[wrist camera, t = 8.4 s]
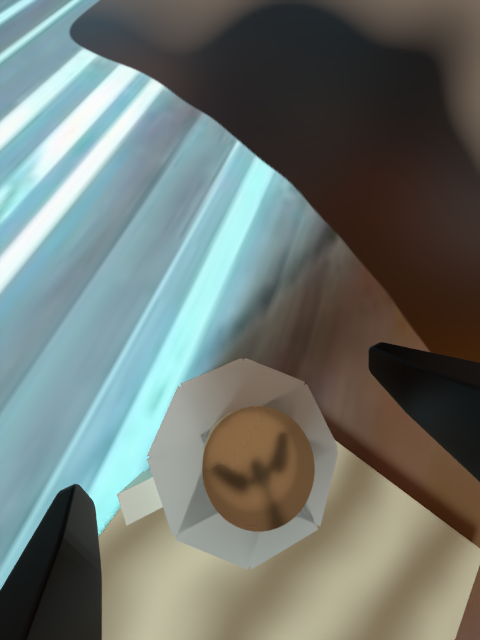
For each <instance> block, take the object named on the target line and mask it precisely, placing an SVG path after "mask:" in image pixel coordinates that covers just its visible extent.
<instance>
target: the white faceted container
mask: <svg viewBox="0 0 480 640" xmlns="http://www.w3.org/2000/svg"><path fill="white" fill-rule="evenodd" d="M304 383H305V382H304V381H301V380H299V379H297V378H294V377H292V376H289V375H287V374H284V373H282V372H279V371H277V370H274V369H272V368H269V367H267V366H264V365H262V364H259V363H257V362H254V361H252V360H249V359H247V358H244V360H243V359H242V358H240V359H238V360H235V361H233V362H231V363H228V364H226V365H224V366H221V367H219V368H217V369H214V370H212V371H209V372H207V373H205V374H202V375H200V376H198V377H195V378H193V379H191V380H188V381H186V382H183V383H181V386H182V387H180V386H178V388H177V390H176V392H175V395H174V397H173V399H172V401H171V403H170V406H169V408H168V410H167V412H166V415H165V417H164V419H163V421H162V424H161V426H160V428H159V430H158V433H157V435H156V437H155V439H154V442H153V444H152V446H151V448H150V451H149V453H148V455H147V456H150V457H149V458H148V459H147V461H148V464H149V467H150V469H148V470H146V471H144V472H142V473H141V474H140V475H139V476H137V477H136V478H135V479H134V480H133V481H132V482H131V483H130V484H128V485H127V486H126V487H125V488H124V489H123V490H122V491H121V492H119V493H118V494H117V496H118V499H119V502H120V506H121V509H122V512H123V516H124V519H125V523H126V526H127V525H129V524H131V523H133V522H135V521H137V520H139V519H141V518H143V517H144V516H146V515H148V514H150V513H152V512H154V511H156V510H158V509H160V508H162V507H163V509H164V512H165V515H166V518H167V521H168V524H169V527H170V530H171V533H172V536H173V537H174V536H176V539H175V540H177V541H179V542H182V543H184V544H187V545H189V546H192V547H194V548H196V549H199V550H201V551H204V552H206V553H209V554H211V555H213V556H216V557H218V558H221V559H223V560H225V561H228V562H230V563H233V564H235V565H238V566H240V567H242V568H245V569H247V570H248V568H249V565H250V567H251V569H253V568H255V567H257V566H258V565H260V564H262V563H263V562H265V561H266V560H268V559H270V558H271V557H273V556H275V555H276V554H278V553H280V552H281V551H283V550H285V549H286V548H288V547H290V546H291V545H293V544H295V543H296V542H298V541H300V540H301V539H303V538H305V537H306V536H308V535H310V534H311V533H313V532H315V531H316V530H318V528H317V525H318V526H321V521H322V517H323V513H324V509H325V505H326V501H327V497H328V493H329V489H330V484H331V480H332V476H333V472H334V468H335V464H336V460H337V456H338V452H339V451H337V450H335V449H337V448H338V446H337V444H336V442H335V440H334V438H333V436H332V434H331V432H330V430H329V428H328V426H327V424H326V422H325V420H324V418H323V416H322V413H321V411H320V409H319V407H318V405H317V403H316V401H315V399H314V397H313V395H312V393H311V391H310V389H309V387H308V385H307V384H305V385H304ZM252 406H265V407H270V408H274V409H277V410H279V411H281V412H283V413H285V414H286V415H288V416H289V417H291V418H292V419H293V420H294V421H295V422H296V423H297V424H298V425H299V426H300V427H301V429H302V430H303V432H304V433H305V435H306V437H307V438H308V440H309V443H310V445H311V448H312V452H313V456H314V464H315V474H314V482H313V487H312V490H311V493H310V496H309V498H308V500H307V502H306V504H305V505H304V507H303V508H302V510H301V511H300V512H299V513H298V514H297V515H296V516H295V517H294V518H293V519H292V520H291V521H289V522H288V523H287V524H285V525H283V526H281V527H279V528H277V529H273V530H270V531H264V532H253V531H247V530H244V529H241V528H238V527H236V526H234V525H232V524H231V523H229V522H228V521H227V520H225V519H224V518H223V517H222V516H221V515H220V514H219V513H218V512H217V510H216V509H215V508H214V506H213V505H212V503H211V501H210V500H209V497H208V495H207V493H206V489H205V486H204V481H203V473H202V464H203V450H204V444H205V441H206V438H207V436H208V434H209V432H210V430H211V428H212V427H213V426H214V424H215V423H216V422H217V421H218V420H219V419H220V418H221V417H223V416H224V415H225V414H227V413H229V412H231V411H234V410H237V409H242V408H246V407H252Z"/></svg>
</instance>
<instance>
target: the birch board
mask: <svg viewBox="0 0 480 640" xmlns="http://www.w3.org/2000/svg"><path fill="white" fill-rule="evenodd" d="M230 363H231V362H230ZM335 442H336V444H337V446H338V448H337V449H335V450H337V451H339V452H338V456H337V460H336V464H335V468H334V472H333V476H332V480H331V484H330V489H329V493H328V497H327V501H326V505H325V509H324V513H323V517H322V521H321V526H318V525H317V528H318V530H316V531H315V532H313V533H311V534H310V535H308V536H306V537H305V538H303V539H301V540H300V541H298V542H296V543H295V544H293V545H291V546H290V547H288V548H286V549H285V550H283V551H281V552H280V553H278V554H276V555H275V556H273V557H271V558H270V559H268V560H266V561H265V562H263V563H262V564H260V565H258V566H257V567H255V568H253V569H251V567H250V565H249V568H248V570H247V569H245V568H242V567H240V566H238V565H235V564H233V563H230V562H228V561H225V560H223V559H221V558H218V557H216V556H213V555H211V554H209V553H206V552H204V551H201V550H199V549H196V548H194V547H192V546H189V545H187V544H184V543H182V542H179V541H177V540H175V539H176V536H174V537H173V536H172V533H171V530H170V527H169V524H168V521H167V518H166V515H165V512H164V509H163V507H162V508H160V509H158V510H156V511H154V512H152V513H150V514H148V515H146V516H144V517H143V518H141V519H139V520H137V521H135V522H133V523H131V524H129V525H127V526H126V523H125V519H124V516H123V512H122V509H121V508H120V509H119V511H118V512H117V513H116V515H115V516H114V517H113V519H112V520H111V521H110V523H109V524H108V525H107V527H106V528H105V529H104V531H103V532H102V533H101V535H100V536H99V537H98V539H99V549H100V558H101V570H102V640H455V638H456V635H457V632H458V629H459V626H460V623H461V620H462V617H463V614H464V611H465V607H466V604H467V601H468V598H469V595H470V592H471V589H472V586H473V583H474V580H475V577H476V574H477V571H478V568H479V565H480V549H479V548H478V547H477V546H475V545H474V544H473V543H471V542H470V541H469V540H467V539H466V538H465V537H463V536H462V535H461V534H459V533H458V532H457V531H455V530H454V529H453V528H451V527H450V526H449V525H447V524H446V523H445V522H443V521H442V520H441V519H439V518H438V517H437V516H435V515H434V514H433V513H431V512H430V511H429V510H427V509H426V508H425V507H423V506H422V505H421V504H419V503H418V502H417V501H415V500H414V499H413V498H411V497H410V496H409V495H407V494H406V493H405V492H403V491H402V490H401V489H399V488H398V487H397V486H395V485H394V484H393V483H391V482H390V481H389V480H387V479H386V478H385V477H383V476H382V475H381V474H379V473H378V472H377V471H375V470H374V469H373V468H371V467H370V466H369V465H367V464H366V463H365V462H363V461H362V460H361V459H359V458H358V457H357V456H355V455H354V454H353V453H351V452H350V451H349V450H347V449H346V448H345V447H343V446H342V445H341V444H339V443H338V442H337V441H335Z"/></svg>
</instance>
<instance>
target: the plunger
mask: <svg viewBox="0 0 480 640" xmlns="http://www.w3.org/2000/svg"><path fill="white" fill-rule="evenodd" d="M202 473H203V481H204V486H205V489H206V493H207V495H208V497H209V500H210V501H211V503H212V505H213V506H214V508H215V509H216V510H217V512H218V513H219V514H220V515H221V516H222V517H223V518H224V519H225V520H227V521H228V522H229V523H231V524H232V525H234V526H236V527H238V528H241V529H244V530H247V531H253V532H264V531H270V530H273V529H277V528H279V527H281V526H283V525H285V524H287V523H288V522H289V521H291V520H292V519H293V518H294V517H295V516H296V515H297V514H298V513H299V512H300V511H301V510H302V508H303V507H304V505H305V504H306V502H307V500H308V498H309V496H310V493H311V490H312V487H313V482H314V474H315V464H314V456H313V452H312V448H311V445H310V443H309V440H308V438H307V437H306V435H305V433H304V432H303V430H302V429H301V427H300V426H299V425H298V424H297V423H296V422H295V421H294V420H293V419H292V418H291V417H289V416H288V415H286V414H285V413H283V412H281V411H279V410H277V409H274V408H270V407H265V406H252V407H246V408H242V409H237V410H234V411H231V412H229V413H227V414H225V415H224V416H223V417H221V418H220V419H219V420H218V421H217V422H216V423H215V424H214V426H213V427H212V428H211V430H210V432H209V434H208V436H207V438H206V441H205V444H204V450H203V464H202Z"/></svg>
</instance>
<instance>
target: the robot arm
mask: <svg viewBox="0 0 480 640" xmlns="http://www.w3.org/2000/svg"><path fill="white" fill-rule="evenodd" d="M369 370H370V372H371V373H372V375H373V376H374V377H375V378H376V379H377V380H378V382H379V383H380V384H381V385H382V386H383V387H384V388H385V390H386V391H387V392H388V393H389V394H390V395H391V396H392V398H393V399H394V400H395V401H396V402H397V403H398V404H399V406H400V407H401V408H402V409H403V410H404V411H405V412H406V413H407V414H408V415H409V416H410V417H411V418H412V419H413V420H414V421H416V422H417V423H418V424H419V425H420V426H421V427H422V428H423V429H424V430H425V431H426V432H427V433H428V434H429V435H430V436H431V437H432V438H434V439H435V440H436V441H437V442H438V443H439V444H440V445H441V446H442V447H443V448H444V449H445V450H446V451H447V452H448V453H449V454H451V455H452V456H453V457H454V458H455V459H456V460H457V461H458V462H459V463H460V464H461V465H462V466H463V467H464V468H465V469H466V470H467V471H469V472H470V473H471V474H472V475H473V476H474V477H475V478H476V479H477V480H478V481H479V482H480V363H478V362H473V361H468V360H464V359H459V358H454V357H450V356H445V355H440V354H435V353H431V352H426V351H421V350H416V349H412V348H407V347H402V346H397V345H393V344H388V343H383V342H381V343H378V344H376V345H373V346H371V347H370V348H369ZM0 640H102V570H101V558H100V549H99V539H98V530H97V520H96V511H95V505H94V503H93V501H92V499H91V498H90V497H89V496H88V494H87V493H86V492H85V491H84V490H83V489H82V487H81V486H80V485H78V484H73V485H71V486H69V487H67V488H65V489H63V490H61V491H60V492H59V493H58V494H57V495H56V497H55V499H54V500H53V502H52V504H51V505H50V507H49V509H48V510H47V512H46V514H45V516H44V517H43V519H42V521H41V522H40V524H39V526H38V527H37V529H36V531H35V532H34V534H33V536H32V538H31V539H30V541H29V543H28V544H27V546H26V548H25V549H24V551H23V553H22V554H21V556H20V558H19V560H18V561H17V563H16V565H15V566H14V568H13V570H12V571H11V573H10V575H9V576H8V578H7V580H6V582H5V583H4V585H3V587H2V588H1V590H0Z"/></svg>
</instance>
